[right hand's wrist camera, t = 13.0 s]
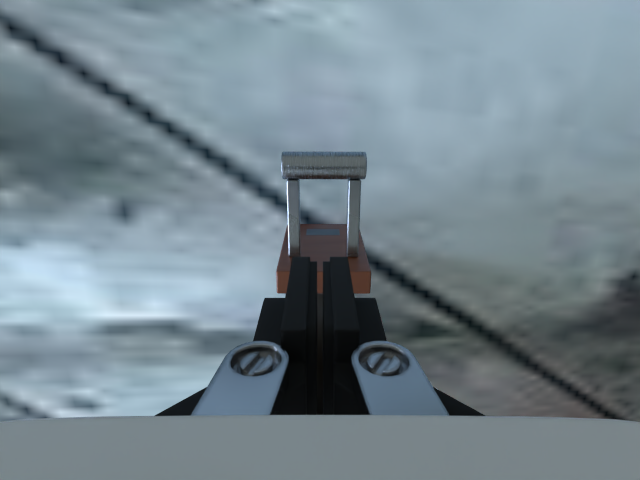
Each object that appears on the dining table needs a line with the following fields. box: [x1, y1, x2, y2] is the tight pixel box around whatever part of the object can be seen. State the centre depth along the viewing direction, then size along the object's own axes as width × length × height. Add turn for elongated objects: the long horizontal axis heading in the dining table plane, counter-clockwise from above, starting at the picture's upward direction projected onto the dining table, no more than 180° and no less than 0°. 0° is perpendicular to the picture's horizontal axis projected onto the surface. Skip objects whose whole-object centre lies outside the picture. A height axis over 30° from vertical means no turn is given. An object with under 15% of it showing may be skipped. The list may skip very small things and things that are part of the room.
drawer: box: [276, 152, 371, 415], centre depth 25 cm, size 21×5×7 cm, turn 0°
